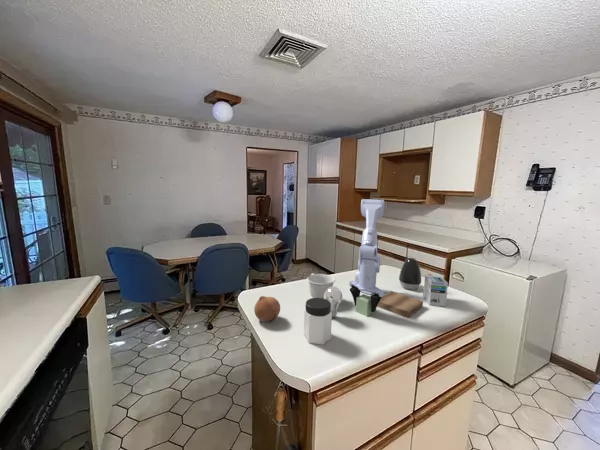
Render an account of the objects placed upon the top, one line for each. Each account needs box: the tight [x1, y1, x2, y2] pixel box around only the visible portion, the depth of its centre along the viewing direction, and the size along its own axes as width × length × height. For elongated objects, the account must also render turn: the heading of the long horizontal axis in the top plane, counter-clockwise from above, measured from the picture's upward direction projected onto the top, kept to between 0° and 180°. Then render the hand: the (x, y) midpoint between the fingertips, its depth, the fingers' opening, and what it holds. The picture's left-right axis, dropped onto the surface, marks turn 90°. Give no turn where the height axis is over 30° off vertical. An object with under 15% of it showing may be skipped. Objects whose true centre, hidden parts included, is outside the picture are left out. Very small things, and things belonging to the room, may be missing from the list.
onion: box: [253, 295, 281, 323], centre depth 96 cm, size 10×9×10 cm
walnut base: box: [377, 290, 424, 319], centre depth 109 cm, size 14×14×2 cm
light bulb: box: [324, 286, 343, 319], centre depth 98 cm, size 7×7×12 cm
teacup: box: [306, 273, 336, 299], centre depth 114 cm, size 12×15×10 cm
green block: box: [355, 293, 374, 317], centre depth 104 cm, size 5×5×6 cm
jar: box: [303, 297, 333, 345], centre depth 85 cm, size 9×8×12 cm
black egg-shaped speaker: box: [398, 256, 422, 291], centre depth 129 cm, size 10×10×15 cm
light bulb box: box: [423, 273, 449, 308], centre depth 115 cm, size 11×7×11 cm, turn 168°
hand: (364, 308), depth 104 cm, fingers open, 7 cm apart
